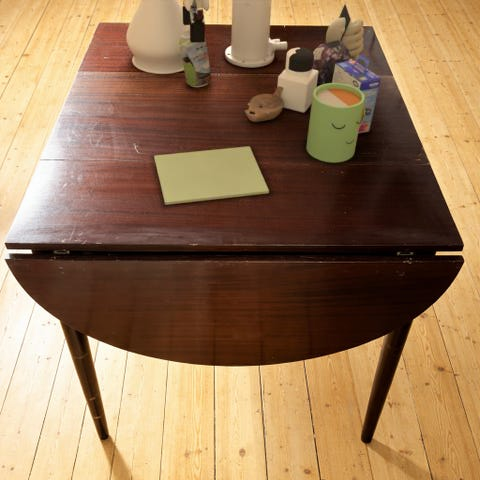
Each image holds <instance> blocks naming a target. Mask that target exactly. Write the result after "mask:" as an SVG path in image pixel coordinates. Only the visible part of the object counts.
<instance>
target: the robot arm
mask: <svg viewBox="0 0 480 480" xmlns="http://www.w3.org/2000/svg"><path fill="white" fill-rule="evenodd" d="M272 2H273V1H272V0H231V36H230V39H231V40H230V41H231V42H230V46H228V47H227V48H226V49H225V51H224V58H225V59H226V61H227V62H228V63H230V64H231V65H235V66H237V67H242V68H260V67H264V66H265V67H266V66H268V65H269V64H271V63H273V61H274V60H275V52H276V51H288V42H287V41H281V39H280V38H274V39H272V38H270V33H271V31H270V30H271V18H272V17H271V16H272ZM182 8H183V24H184V25H190V41H191V43H196V42H204V41H205V39H206V23H205V12H209V10H210V0H182ZM204 11H205V12H204Z"/></svg>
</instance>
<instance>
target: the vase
mask: <svg viewBox="0 0 480 480" xmlns="http://www.w3.org/2000/svg"><path fill="white" fill-rule="evenodd" d="M189 30H190V25H184V24H183V5H182V3H180V1H179V0H140V2H139V3H138V6H137V8H136V10H135V12H134V14H133V16H132V17H131V21H130V23H129V25H128V27H127V30H126V36H125V39H126V44H127V46H128V49H129V50H130V52H131V53H132V55H133V56H132V59H131V61H132V64H133V66H134V67H136V68H137V69H139V70H140V71H143V72H146V73H150V74H156V75H157V74H159V75H169V74H175V73H179V72H184V66H183V60H182V55H181V49H180V44H179V41H180V38H181V34H182V33H183V32H186V31H189Z"/></svg>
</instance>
